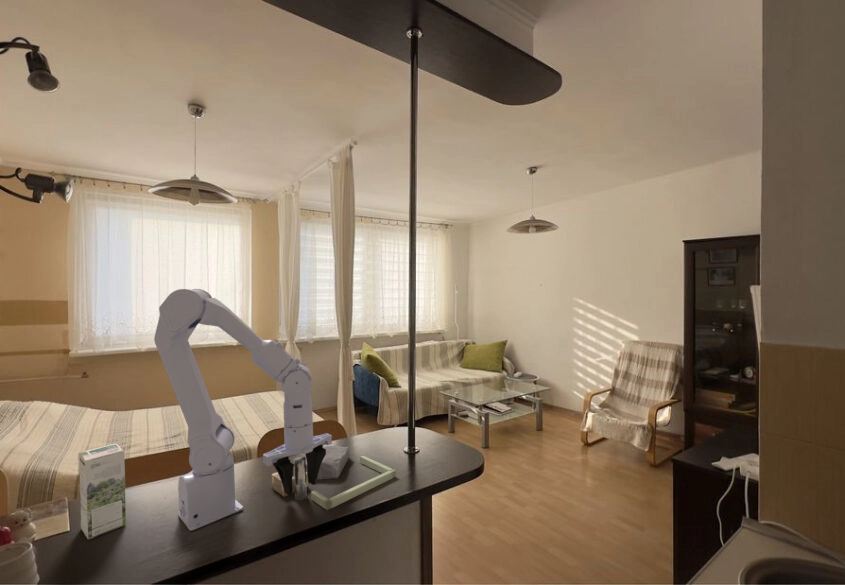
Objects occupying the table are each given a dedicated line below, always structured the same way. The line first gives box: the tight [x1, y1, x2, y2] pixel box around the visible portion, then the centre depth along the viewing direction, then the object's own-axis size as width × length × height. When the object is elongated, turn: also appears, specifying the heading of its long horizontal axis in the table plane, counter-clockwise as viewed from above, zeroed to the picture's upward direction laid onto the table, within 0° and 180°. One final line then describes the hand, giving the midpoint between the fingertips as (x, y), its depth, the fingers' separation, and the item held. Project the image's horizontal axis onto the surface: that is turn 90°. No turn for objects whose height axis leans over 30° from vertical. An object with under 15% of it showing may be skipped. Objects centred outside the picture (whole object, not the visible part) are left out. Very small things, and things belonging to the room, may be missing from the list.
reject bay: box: [310, 455, 397, 511], centre depth 88 cm, size 18×12×2 cm, turn 136°
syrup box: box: [77, 443, 127, 541], centre depth 73 cm, size 6×6×14 cm
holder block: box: [271, 468, 309, 498], centre depth 86 cm, size 6×6×3 cm
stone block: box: [306, 445, 350, 480], centre depth 96 cm, size 12×5×10 cm
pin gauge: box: [293, 456, 308, 501], centre depth 82 cm, size 2×2×8 cm
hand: (300, 487), depth 82 cm, fingers open, 5 cm apart
